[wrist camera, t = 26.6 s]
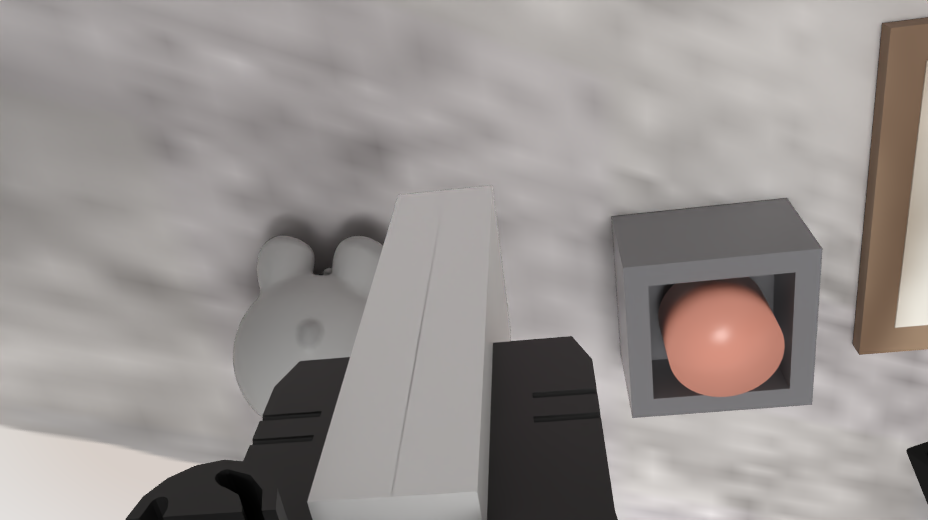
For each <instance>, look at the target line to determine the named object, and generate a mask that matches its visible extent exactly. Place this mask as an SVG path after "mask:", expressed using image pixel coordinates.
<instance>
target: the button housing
mask: <svg viewBox="0 0 928 520" xmlns="http://www.w3.org/2000/svg"><path fill="white" fill-rule="evenodd" d="M611 218H612V233H613V247H614V262H615V276H616V291H617V305H618V320H619V334H620V349H621V358H622V364H623V369H624V375H625V380H626V385H627V391H628V396H629V402H630V407H631V413H632V418H637V417H651V416H664V415H678V414H691V413H705V412H719V411H732V410H746V409H759V408H773V407H786V406H800V405H812V397H813V382H814V367H815V352H816V337H817V321H818V306H819V291H820V276H821V261H822V247H821V246H820V245H819V243H818V242H817V240H816V239H815V237H814V236H813V235H812V233H811V232H810V230H809V229H808V227H807V226H806V225H805V223H804V222H803V220H802V219H801V217H800V216H799V215H798V213H797V212H796V210H795V209H794V207H793V206H792V205H791V203H790V202H789V200H788V199H787V198H784V199H775V200H765V201H756V202H746V203H736V204H727V205H717V206H708V207H698V208H689V209H679V210H670V211H660V212H650V213H641V214H631V215H622V216H612V217H611ZM740 277H749V278H751V279H752V280H753V281H754V282H755V283H756V284H757V285H758V286H759V288H760V289H761V291H762V293H763V295H764V297H765V299H766V301H767V303H768V305H769V307H770V309H771V311H772V313H773V314H774V316H775V318H776V320H777V322H778V324H779V326H780V328H781V331H782V333H783V336H784V343H785V348H784V354H783V358H782V361H781V363H780V365H779V366H778V368H777V370H776V371H775V372H774V373H773V375H772V376H771V377H770V378H769V379H768V380H767V381H765V382H764V383H763V384H761V385H760V386H758V387H756V388H755V389H753V390H750V391H748V392H745V393H743V394H739V395H735V396H728V397H712V396H706V395H702V394H699V393H696V392H694V391H692V390H690V389H688V388H687V387H685V386H684V385H683V384H682V383H680V381H679V380H678V379H677V378H676V377H675V375H674V374H673V372H672V370H671V367H670V364H669V360H668V357H667V353H666V349H665V346H664V342H663V338H662V334H661V331H660V327H659V322H658V312H659V307H660V304H661V301H662V299H663V298H664V296H665V294H666V293H667V291H668V290H669V289H670V288H671V287H672V286H673V285H674V284H676V283H687V282H698V281H708V280H719V279H730V278H740Z"/></svg>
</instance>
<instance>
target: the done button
mask: <svg viewBox="0 0 928 520" xmlns="http://www.w3.org/2000/svg"><path fill="white" fill-rule="evenodd" d="M658 322H659V327H660V331H661V334H662V338H663V342H664V346H665V349H666V353H667V357H668V360H669V364H670V367H671V370H672V372H673V374H674V375H675V377H676V378H677V379H678V380H679V381H680V383H682V384H683V385H684V386H685V387H687V388H688V389H690V390H692V391H694V392H696V393H699V394H702V395H706V396H712V397H728V396H735V395H739V394H743V393H745V392H748V391H750V390H753V389H755V388H756V387H758V386H760V385H761V384H763V383H764V382H765V381H767V380H768V379H769V378H770V377H771V376H772V375H773V373H774V372H775V371H776V370H777V368H778V366H779V365H780V363H781V361H782V358H783V354H784V348H785V343H784V336H783V333H782V331H781V328H780V326H779V324H778V322H777V320H776V318H775V316H774V314H773V313H772V311H771V309H770V307H769V305H768V303H767V301H766V299H765V297H764V295H763V293H762V291H761V289H760V288H759V286H758V285H757V284H756V283H755V282H754V281H753V280H752V279H751V278H749V277H740V278H730V279H719V280H708V281H698V282H687V283H676V284H674V285H673V286H672V287H671V288H670V289H669V290H668V291H667V293H666V294H665V296H664V298H663V299H662V301H661V304H660V307H659V312H658Z"/></svg>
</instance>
